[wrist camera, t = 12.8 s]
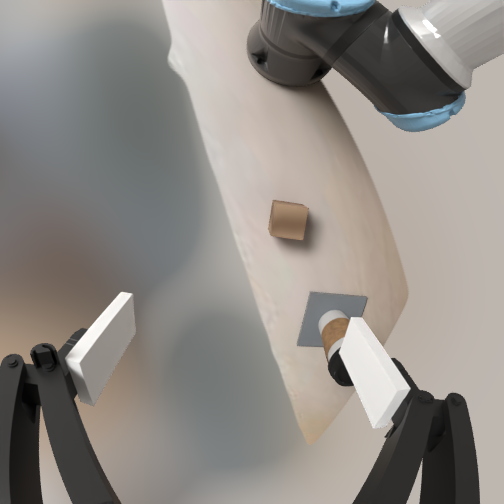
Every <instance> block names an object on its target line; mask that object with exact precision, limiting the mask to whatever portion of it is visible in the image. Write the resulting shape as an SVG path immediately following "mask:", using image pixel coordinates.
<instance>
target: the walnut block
mask: <svg viewBox="0 0 504 504" xmlns="http://www.w3.org/2000/svg"><path fill="white" fill-rule="evenodd" d="M308 209H309V208H307V207H306V206H304V205H302V204H297V203H290V202H284V201H277V200H273V202H272V208H271V215H270V221H269V228H268V230H269V232H270V235H271V236H276V237H283V238H290V239H297V240H303V237H304V232H305V226H306V221H307V215H308Z"/></svg>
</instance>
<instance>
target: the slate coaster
mask: <svg viewBox="0 0 504 504" xmlns="http://www.w3.org/2000/svg"><path fill="white" fill-rule="evenodd" d="M366 300H367V297H366V296H355V295H343V294H331V293H320V292H310V294H309V298H308V302H307V306H306V310H305V314H304V318H303V322H302V326H301V330H300V334H299V338H298V341H297V346H315V347H324V346H323V342H322V338H321V334H320V331H319V326H318V325H319V320H320V318H321V317H322V316H323V315H324V314H325V313H327V312H328V311H331V310H340V311H342V312H343V313H344V314H345V315H346V316H347V317H348V318H349V320H350V319H351V317H361V316H362V313H363V310H364V307H365V304H366Z"/></svg>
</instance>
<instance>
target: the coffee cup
mask: <svg viewBox="0 0 504 504" xmlns="http://www.w3.org/2000/svg"><path fill="white" fill-rule="evenodd" d="M349 322H350V320H349V318H348V317H347V316H346V315H345V314H344V313H343V312H342V311H340V310H331V311H328V312H327V313H325V314H324V315H323V316H322V317H321V318H320V320H319V325H318V326H319V331H320V334H321V338H322V342H323V346H324V350H325V354H326V358H327V362H328V370H329V373H330V375H331V376H332V378H333V379H335V381H336V382H337V383H338V384H339V385H341V386H354V384H353V382H352V380H351V377H350V375H349V373H348V371H347V369H346V367H345V364H344V362H343V360H342V358H341V356H340V354H339V351H340V349H341V346H342V343H343V340H344V337H345V334H346V331H347V328H348V325H349Z"/></svg>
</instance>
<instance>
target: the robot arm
mask: <svg viewBox="0 0 504 504" xmlns="http://www.w3.org/2000/svg"><path fill="white" fill-rule="evenodd" d="M247 54H248V57H249V60H250V62H251V64H252V65H253V67H254V68H255V69H256V70H257V71H258V72H259V73H260V74H261V75H263V76H264V77H266V78H267V79H269V80H271V81H273V82H275V83H278V84H282V85H286V86H306V85H310V84H313V83H315V82H317V81H319V80H320V79H322V78H323V77H324V76H325V75H326V74H327V73H328V72H329V70H331V68H332V67H333V68H334V69H335V70H336V71H337V72H339V73H340V74H341V75H342V76H343V77H345V78H346V79H347V80H348V81H349V82H350V83H351V84H352V85H354V86H355V87H356V88H357V89H358V90H359V91H360V92H361V93H362V94H364V96H366V97H367V98H368V99H369V100H370V101H371V102H372V103H373V104H374V107H375V108H376V109H377V111H379V112H380V113H382V114H383V115H385V116H386V117H387V118H388V119H389V120H390V121H391V122H392V123H393V124H394V125H395V126H396V127H398V128H400V129H402V130H404V131H409V132H419V131H424V130H428V129H431V128H434V127H437V126H439V125H441V124H443V123H445V122H446V121H448V120H449V119H450V116H451V115H456V114H457V113H458V112H459V111H460V110H461V109H462V107H463V105H464V103H465V98H466V97H465V92H464V90H466V89H468V88H470V87H471V81H472V72H473V70H474V69H475V68H477V67H479V66H481V65H483V64H485V63H486V62H488V61H490V60H492V59H494V58H496V57H498V56H500V55H502V54H504V0H430V1H429V2H428V3H427V4H425V5H424V6H423V7H420V8H416V7H410V6H400V7H399V8H398V9H397V10H396V11H395V12H393V13H392V12H390V11H389V10H388V9H387V8H385V7H384V6H383V5H382V4H380V3H379V2H378V1H376V0H262V6H261V15H260V19H259V20H258V22H257V23H256V24H255V25H254V26H253V27H252V29H251V30H250V32H249V35H248V38H247ZM135 333H136V329H135V319H134V305H133V294H130V293H125V292H121V293H120V294H119V295H118V296H117V297H116V298H115V300H114V301H113V302H112V303H111V304H110V305H109V306H108V307H107V309H106V310H105V311H104V312H103V313H102V314H101V316H100V317H99V318H98V319H97V320H96V321H95V322H94V324H93V325H92V326H91V327H90V328H89V329H84V328H82V329H80V330H78V331H76V332H75V333H74V334H73V335H72V336H71V337H70V339H69V340H68V341H67V342H66V344H64V345H63V346H62V348H61V349H60V350H59V351H58V352H57V351H56V349H55V347H54V346H53V345H51V344H48V343H42V344H38V345H36V346H35V347H33V348H32V350H31V353H30V355H31V358H32V361H33V363H34V365H32V364H25V363H24V360H23V358H22V357H21V356H20V355H17V354H10V355H8V356H6V357H5V358H4V359H3V360H2V363H1V366H0V504H43V500H42V492H41V483H40V469H39V423H40V407H41V406H42V411H43V416H44V421H45V425H46V429H47V433H48V437H49V440H50V444H51V447H52V451H53V454H54V457H55V460H56V463H57V466H58V469H59V472H60V474H61V477H62V480H63V482H64V485H65V487H66V490H67V492H68V494H69V497H70V499H71V501H72V503H73V504H121V502H120V500H119V499H118V497H117V495H116V494H115V492H114V490H113V488H112V487H111V485H110V483H109V481H108V479H107V477H106V475H105V473H104V471H103V469H102V467H101V465H100V463H99V461H98V459H97V457H96V454H95V452H94V450H93V448H92V445H91V444H90V441H89V438H88V436H87V433H86V431H85V428H84V426H83V423H82V420H81V418H80V415H79V412H78V409H77V406H76V403H75V401H74V398H75V396H76V395H77V394H78V397H79V399H80V401H81V402H83V403H86V404H89V405H92V406H94V405H95V403H96V401H97V400H98V398H99V396H100V394H101V392H102V390H103V389H104V386H105V385H106V383H107V381H108V380H109V378H110V376H111V374H112V372H113V371H114V369H115V367H116V365H117V364H118V362H119V360H120V358H121V357H122V355H123V353H124V351H125V350H126V348H127V346H128V345H129V343H130V341H131V340H132V338H133V336H134V334H135ZM339 354H340V356H341V358H342V360H343V362H344V364H345V367H346V369H347V371H348V373H349V375H350V377H351V380H352V382H353V384H354V386H355V388H356V391H357V393H358V395H359V397H360V400H361V402H362V404H363V406H364V409H365V411H366V413H367V415H368V417H369V420H370V422H371V425H372V427H373V429H375V428H381V427H386V426H387V424H388V423H389V421H390V420H391V419H392V421H393V423H394V425H393V426H392V428H391V429H390V430H389V432H388V433H387V434H386V436H385V438H386V437H387V439H386V441H385V443H384V445H383V448H382V450H381V452H380V454H379V456H378V458H377V460H376V462H375V464H374V466H373V468H372V470H371V472H370V474H369V476H368V478H367V480H366V482H365V483H364V485H363V487H362V488H361V490H360V492H359V494H358V495H357V497H356V499H355V500H354V502H353V503H352V504H406V503H407V500H408V498H409V495H410V493H411V490H412V487H413V485H414V482H415V479H416V476H417V473H418V470H419V467H420V464H421V461H422V458H423V461H422V462H423V464H422V483H421V493H420V503H419V504H480V492H479V476H478V465H477V457H476V450H475V443H474V437H473V432H472V426H471V422H470V417H469V412H468V408H467V404H466V401H465V399H464V398H463V396H461V395H460V394H457V393H450V394H448V396H447V397H446V399H445V400H439V399H434V396H433V395H431V394H430V393H429V392H427V391H423V390H419V389H418V387H417V386H416V384H415V383H414V381H413V380H412V378H411V377H410V375H408V373H407V371H406V370H405V368H404V367H403V365H402V364H401V363H400V362H399V361H398V360H396V359H395V358H390V357H389V356H388V354H387V353H386V351H385V350H384V348H383V347H382V345H381V344H380V342H379V341H378V340H377V338H376V337H375V335H374V334H373V332H372V331H371V330H370V328H369V327H368V325H367V324H366V323H365V321H364V320H363V318H362V317H351V319H350V322H349V325H348V328H347V331H346V334H345V337H344V340H343V343H342V346H341V349H340V351H339Z"/></svg>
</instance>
